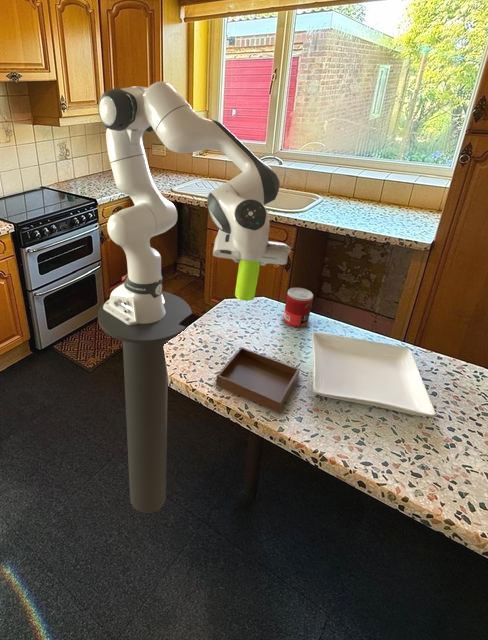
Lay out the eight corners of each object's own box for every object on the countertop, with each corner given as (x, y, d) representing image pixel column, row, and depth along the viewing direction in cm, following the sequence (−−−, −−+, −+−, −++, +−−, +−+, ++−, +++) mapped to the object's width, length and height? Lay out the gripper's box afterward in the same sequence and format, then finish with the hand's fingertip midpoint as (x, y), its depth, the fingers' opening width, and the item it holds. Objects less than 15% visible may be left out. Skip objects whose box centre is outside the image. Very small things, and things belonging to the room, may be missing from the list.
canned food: (305, 330, 129) (310, 301, 124) (280, 323, 132) (285, 295, 127) (309, 319, 135) (315, 291, 130) (286, 313, 138) (290, 285, 133)
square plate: (309, 340, 124) (311, 330, 122) (407, 357, 117) (411, 346, 115) (310, 401, 101) (313, 389, 99) (433, 427, 93) (438, 415, 92)
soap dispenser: (252, 304, 116) (263, 240, 107) (231, 296, 120) (239, 234, 111) (260, 296, 120) (271, 234, 112) (240, 289, 124) (249, 228, 115)
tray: (215, 385, 106) (216, 375, 105) (239, 355, 117) (240, 346, 116) (278, 413, 97) (280, 403, 96) (298, 378, 108) (300, 369, 107)
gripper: (293, 235, 101) (288, 255, 114) (213, 227, 107) (217, 247, 119) (290, 258, 99) (285, 276, 112) (209, 249, 105) (213, 267, 117)
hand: (249, 261), depth 116 cm, fingers closed on soap dispenser, 6 cm apart
